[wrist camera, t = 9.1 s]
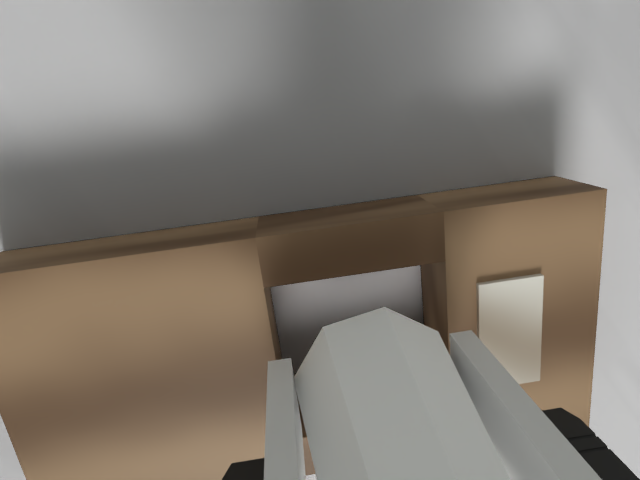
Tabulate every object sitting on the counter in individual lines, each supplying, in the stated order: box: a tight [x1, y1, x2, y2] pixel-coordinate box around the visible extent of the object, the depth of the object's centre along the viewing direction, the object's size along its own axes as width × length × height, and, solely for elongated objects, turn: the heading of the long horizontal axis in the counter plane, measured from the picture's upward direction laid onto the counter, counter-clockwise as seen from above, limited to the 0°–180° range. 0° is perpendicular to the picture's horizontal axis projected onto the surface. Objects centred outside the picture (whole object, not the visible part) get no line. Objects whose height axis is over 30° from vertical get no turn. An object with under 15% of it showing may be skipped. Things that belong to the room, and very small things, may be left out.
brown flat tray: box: [0, 176, 607, 480], centre depth 18 cm, size 10×22×3 cm, turn 97°
